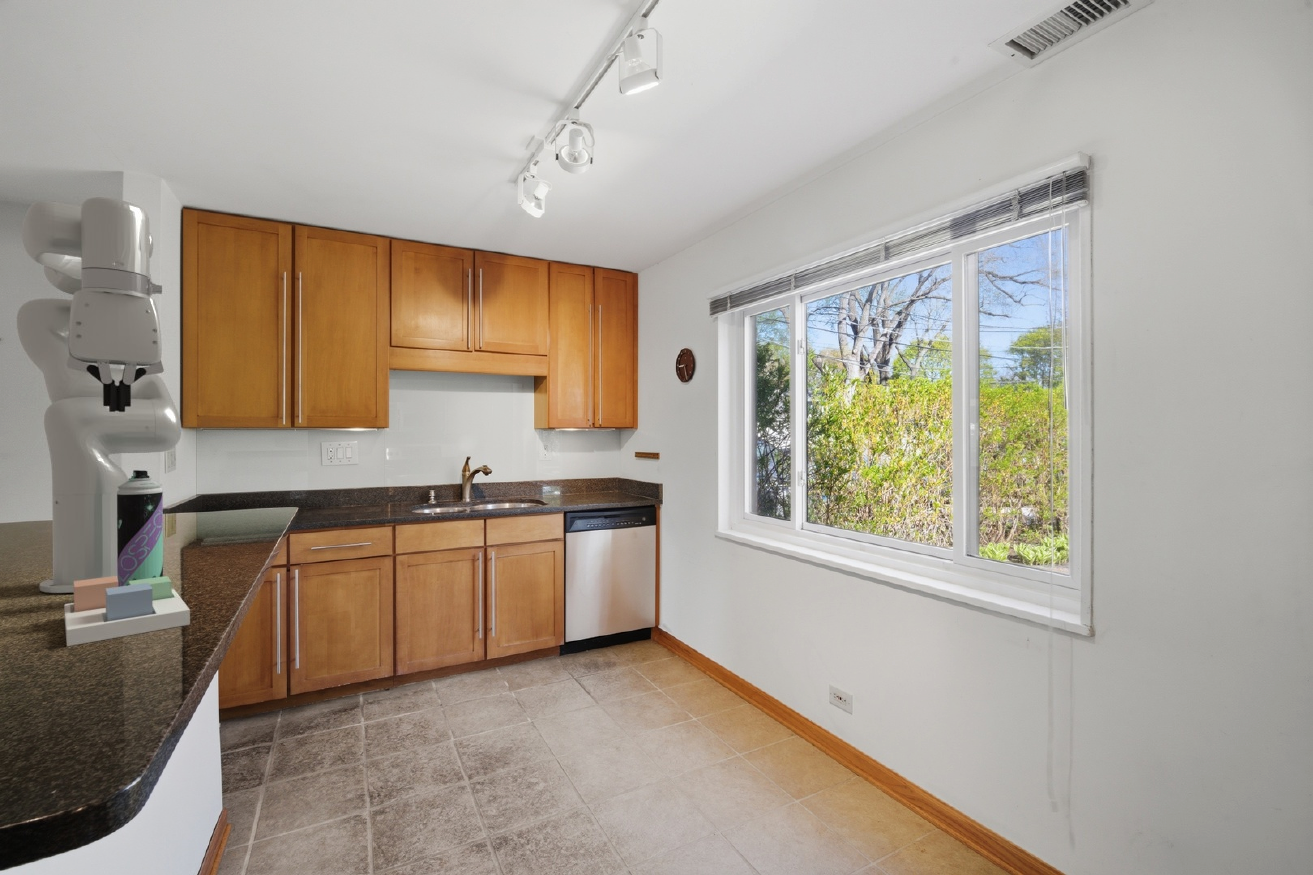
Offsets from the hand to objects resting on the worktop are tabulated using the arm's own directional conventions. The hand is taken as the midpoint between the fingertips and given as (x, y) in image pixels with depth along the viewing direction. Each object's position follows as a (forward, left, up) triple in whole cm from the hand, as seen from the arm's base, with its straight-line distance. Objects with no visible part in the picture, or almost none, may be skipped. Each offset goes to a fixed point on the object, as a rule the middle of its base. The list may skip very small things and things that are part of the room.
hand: (117, 411), depth 90 cm
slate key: (+14, 0, -27) cm, 30 cm away
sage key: (+6, +3, -28) cm, 29 cm away
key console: (+10, 0, -29) cm, 31 cm away
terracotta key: (+6, -3, -27) cm, 28 cm away
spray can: (-5, +3, -29) cm, 30 cm away
